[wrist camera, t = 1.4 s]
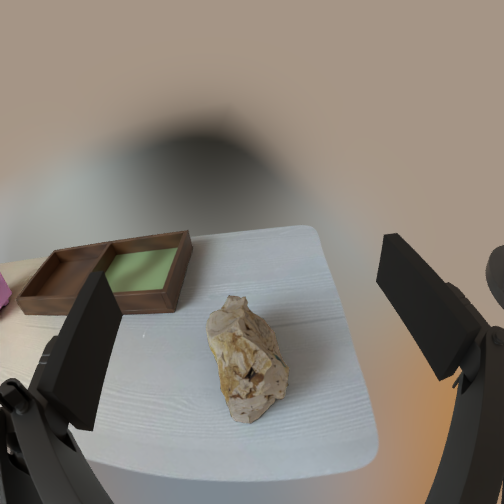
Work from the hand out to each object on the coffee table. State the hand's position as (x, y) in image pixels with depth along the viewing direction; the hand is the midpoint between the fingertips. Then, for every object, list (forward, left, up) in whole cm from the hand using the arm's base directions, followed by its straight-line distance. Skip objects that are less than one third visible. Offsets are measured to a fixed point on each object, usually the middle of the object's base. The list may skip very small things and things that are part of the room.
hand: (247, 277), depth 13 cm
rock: (+1, -8, -19) cm, 21 cm away
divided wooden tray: (+24, -31, -19) cm, 44 cm away
